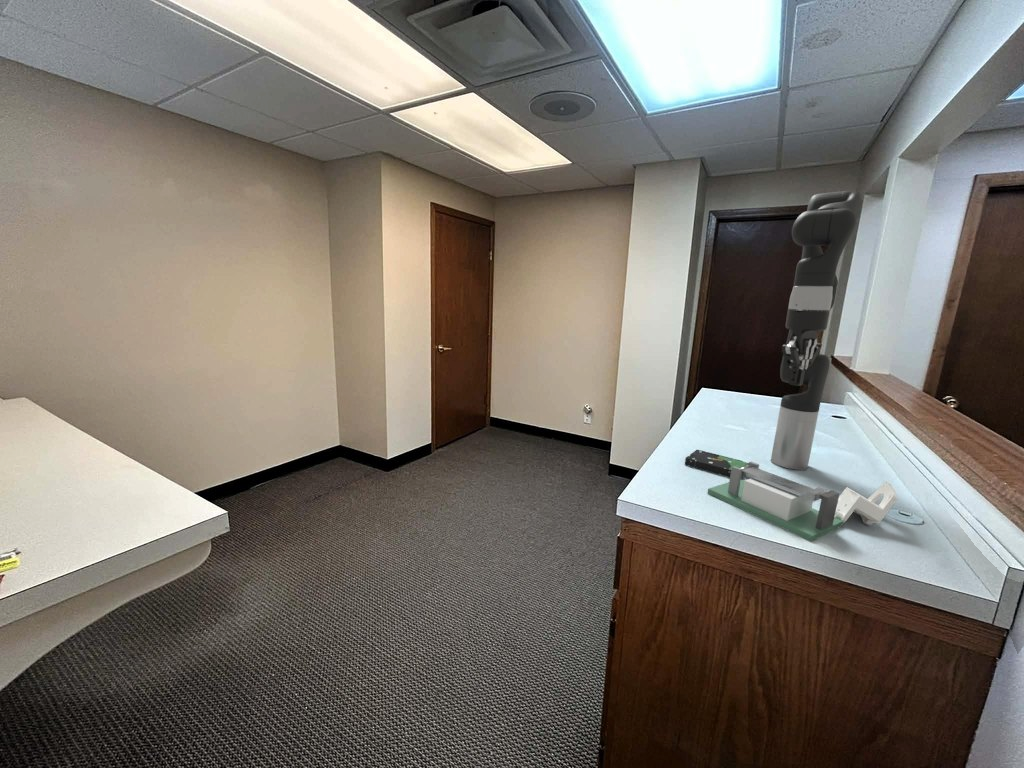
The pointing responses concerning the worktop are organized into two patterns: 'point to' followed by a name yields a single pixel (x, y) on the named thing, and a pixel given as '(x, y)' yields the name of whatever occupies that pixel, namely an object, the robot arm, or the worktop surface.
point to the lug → (827, 509)
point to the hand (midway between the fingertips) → (795, 385)
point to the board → (792, 525)
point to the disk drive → (713, 462)
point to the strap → (783, 483)
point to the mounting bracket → (866, 504)
